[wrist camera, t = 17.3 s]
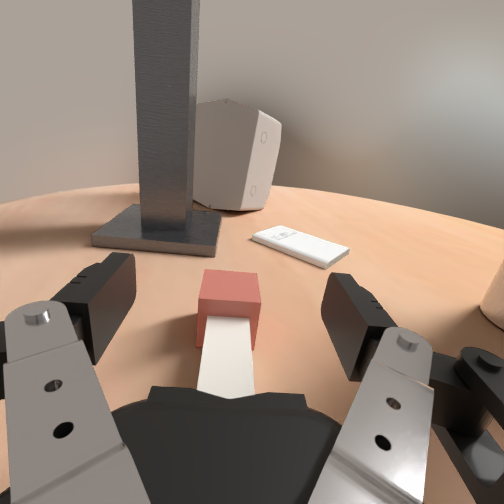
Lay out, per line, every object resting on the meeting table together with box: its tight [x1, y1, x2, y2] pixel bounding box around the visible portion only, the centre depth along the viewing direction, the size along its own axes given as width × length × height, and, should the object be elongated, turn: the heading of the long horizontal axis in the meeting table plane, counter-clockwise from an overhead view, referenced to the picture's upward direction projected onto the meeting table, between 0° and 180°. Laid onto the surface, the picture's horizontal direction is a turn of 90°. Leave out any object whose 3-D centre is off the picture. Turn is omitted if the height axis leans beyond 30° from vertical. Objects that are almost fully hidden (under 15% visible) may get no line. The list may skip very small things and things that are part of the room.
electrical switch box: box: [193, 99, 281, 211], centre depth 60 cm, size 15×15×20 cm
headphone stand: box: [91, 0, 222, 257], centre depth 36 cm, size 15×15×34 cm
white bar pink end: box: [196, 269, 261, 399], centre depth 17 cm, size 18×4×4 cm, turn 3°
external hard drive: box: [252, 225, 350, 269], centre depth 43 cm, size 2×8×12 cm
